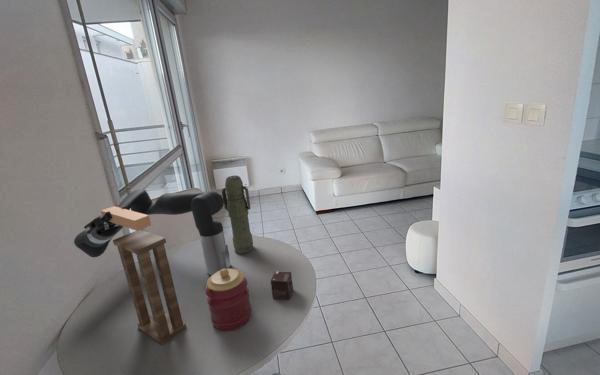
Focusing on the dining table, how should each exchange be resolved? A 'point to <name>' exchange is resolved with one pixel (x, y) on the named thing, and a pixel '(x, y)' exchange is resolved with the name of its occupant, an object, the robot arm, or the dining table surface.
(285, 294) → the box
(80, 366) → the dining table surface
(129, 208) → the robot arm
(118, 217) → the terracotta bar
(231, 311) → the canister
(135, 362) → the dining table surface
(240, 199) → the thermos
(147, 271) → the walnut shelf stand
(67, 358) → the dining table surface
